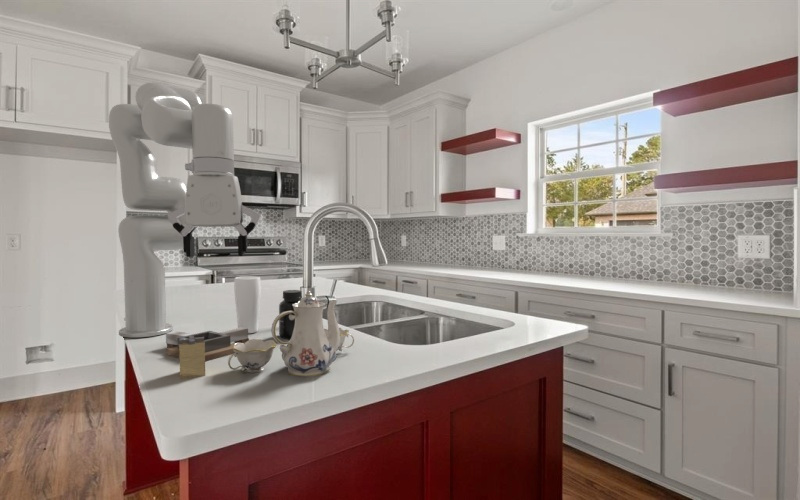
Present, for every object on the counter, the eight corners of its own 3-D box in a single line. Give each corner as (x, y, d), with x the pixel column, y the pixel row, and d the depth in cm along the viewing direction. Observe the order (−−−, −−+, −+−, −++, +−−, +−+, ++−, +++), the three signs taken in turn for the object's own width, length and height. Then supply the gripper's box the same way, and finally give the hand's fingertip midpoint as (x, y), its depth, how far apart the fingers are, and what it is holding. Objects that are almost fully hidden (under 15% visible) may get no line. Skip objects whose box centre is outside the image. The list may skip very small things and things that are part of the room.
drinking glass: (253, 335, 116) (252, 279, 115) (229, 334, 117) (229, 278, 116) (265, 329, 122) (265, 276, 121) (243, 328, 124) (243, 275, 123)
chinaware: (333, 352, 107) (329, 284, 107) (379, 360, 95) (374, 284, 96) (220, 380, 87) (214, 297, 87) (261, 395, 75) (255, 298, 76)
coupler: (180, 371, 87) (179, 337, 87) (204, 368, 89) (203, 334, 89) (180, 378, 83) (179, 342, 83) (205, 375, 85) (204, 340, 85)
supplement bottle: (273, 337, 114) (273, 292, 113) (288, 331, 120) (288, 288, 119) (296, 340, 111) (296, 293, 111) (310, 334, 118) (310, 289, 117)
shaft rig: (154, 350, 102) (154, 334, 101) (218, 335, 115) (218, 321, 115) (197, 363, 92) (196, 346, 92) (260, 345, 106) (260, 330, 106)
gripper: (159, 166, 81) (162, 258, 82) (256, 167, 84) (258, 256, 85) (173, 171, 89) (176, 256, 89) (261, 172, 92) (263, 254, 92)
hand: (216, 256), depth 87 cm, fingers open, 9 cm apart
